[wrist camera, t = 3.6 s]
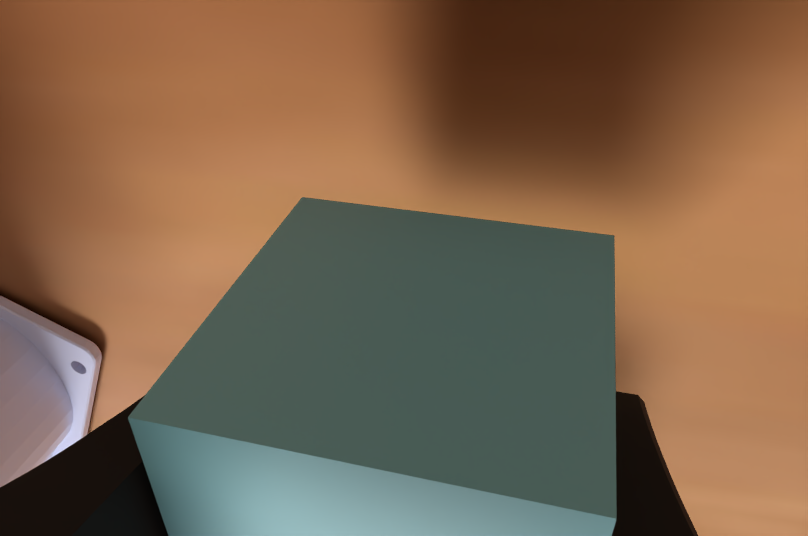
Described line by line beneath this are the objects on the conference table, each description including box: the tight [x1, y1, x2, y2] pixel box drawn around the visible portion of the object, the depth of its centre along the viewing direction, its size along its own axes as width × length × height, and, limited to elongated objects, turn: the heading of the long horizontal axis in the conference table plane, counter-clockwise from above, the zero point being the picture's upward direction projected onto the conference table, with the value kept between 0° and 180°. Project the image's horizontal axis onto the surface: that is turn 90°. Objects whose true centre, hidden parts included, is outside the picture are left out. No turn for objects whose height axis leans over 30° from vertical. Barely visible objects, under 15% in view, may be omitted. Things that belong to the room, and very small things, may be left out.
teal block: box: [128, 197, 617, 536], centre depth 10 cm, size 5×5×5 cm
